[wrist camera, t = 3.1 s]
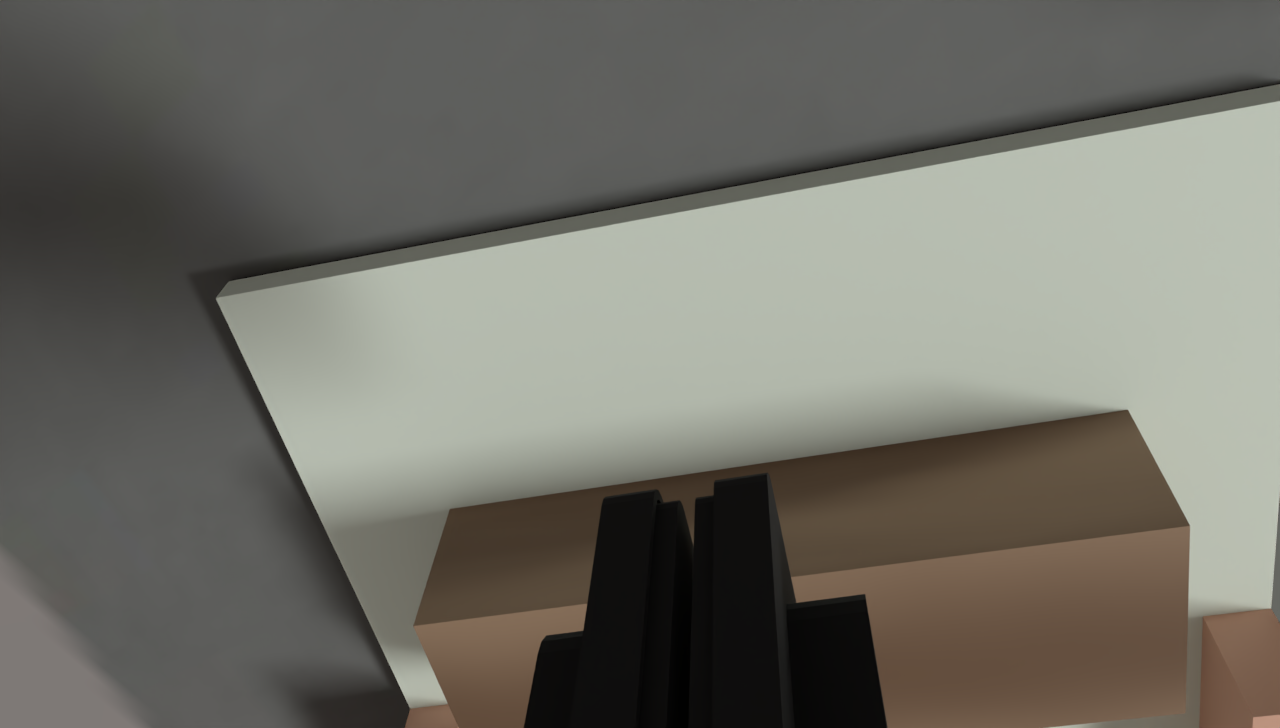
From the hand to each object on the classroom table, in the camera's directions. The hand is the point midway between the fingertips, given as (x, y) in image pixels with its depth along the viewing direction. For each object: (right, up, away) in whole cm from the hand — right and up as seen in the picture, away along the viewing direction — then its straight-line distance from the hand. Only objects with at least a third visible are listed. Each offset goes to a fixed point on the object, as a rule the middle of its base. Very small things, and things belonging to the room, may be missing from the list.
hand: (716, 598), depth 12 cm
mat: (+4, -7, +14) cm, 15 cm away
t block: (+3, -4, +12) cm, 13 cm away
